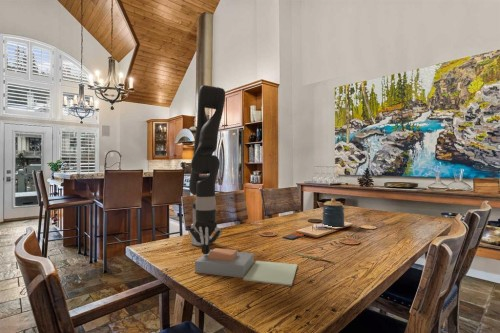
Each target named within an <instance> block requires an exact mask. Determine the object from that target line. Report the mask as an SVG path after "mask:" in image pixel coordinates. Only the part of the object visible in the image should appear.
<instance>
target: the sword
mask: <svg viewBox="0 0 500 333" xmlns="http://www.w3.org/2000/svg"><path fill="white" fill-rule="evenodd" d="M286 252H287V253H290V254H293V255H297V256H301V257H304V258H308V259H312V260H313V261H319V262H320V261H321V262H325V263H326V262H327V263H330V264H333V263H334V261H333V260H328V259H327V260H326V259H324V258H322V257H320V256H312V255H308V254H302V253H298V252H295V251H290V250H285V253H286Z"/></svg>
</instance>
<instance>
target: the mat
mask: <svg viewBox="0 0 500 333" xmlns="http://www.w3.org/2000/svg"><path fill="white" fill-rule="evenodd" d="M297 268H298V264H296V263H285V262H275V261H262V260H256V261H254V264H253V266H252V267H251V268H250V270H249V271H248V272H247V274H246V275H245V276H244V278H242V280H243V281H245V282H252V283H253V282H255V283H264V284H271V285H280V286H281V285H282V286H289V287H290V286H291V287H292V286H293V282H294V280H295V276H296V272H297Z"/></svg>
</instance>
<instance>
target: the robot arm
mask: <svg viewBox="0 0 500 333" xmlns="http://www.w3.org/2000/svg"><path fill="white" fill-rule="evenodd" d="M225 102H226V91H225V89H224V88H223V87H217V86H211V85H205V84H202V85H201V86H200V87H199V90H198V101H197V116H196V118H197V120H196V128H195V135H194V136H195V137H194V143H193V156H192V159H191V163H190V169H191V171H190V175H189V176H190V177H189V185H188V189H189V190H188V191H189V192H190V193H191V194H192V195H195V196H196V197H195V201H194V202H193V203H192V223H191V224H190V229H189V232H190V244H191V245H193V246H197V247H201V253H202V255H204V254H208V253H209V252H210V250H211V244H213V243H215V242H216V240H218V238H219V236H220V235H221V234H222V232H223V230H222V228H219V227H218V224H217V222H216V220H217V209H216V208H217V204H216V203H217V201H216V182H217V177H218V173H219V169H220V167H221V166H220V165H221V161H220V159H219V157H218V156H217V155H215V154H214V152H216V150H217V147H218V146H217V145H218V136H219V131H220V124H221V121H222V116H223V112H224V107H225ZM206 109H211V110H215V111H214V113H213V114H212V115H211V117H210V118H209V119H208V117H207V114H206ZM213 233H214V235H213Z"/></svg>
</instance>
